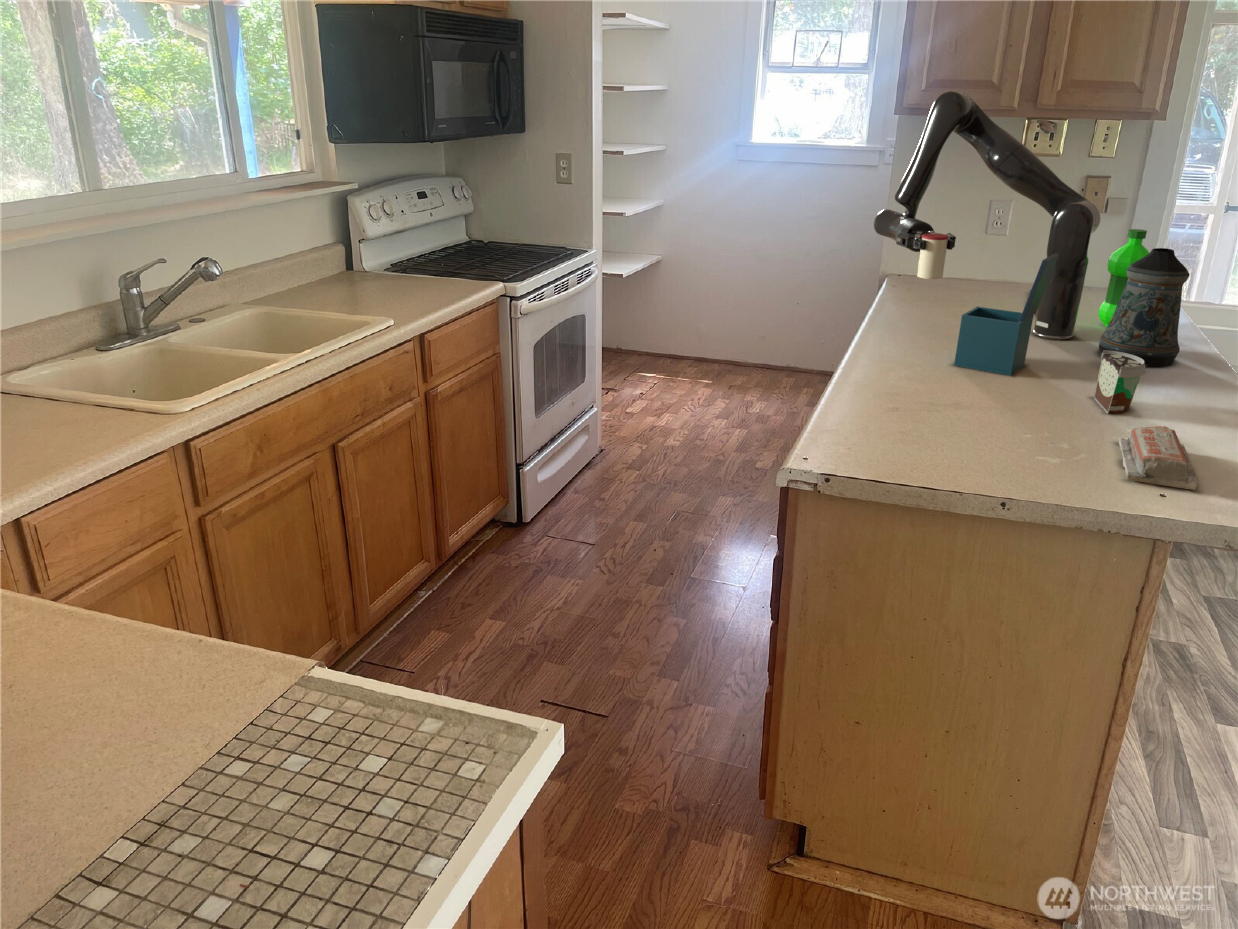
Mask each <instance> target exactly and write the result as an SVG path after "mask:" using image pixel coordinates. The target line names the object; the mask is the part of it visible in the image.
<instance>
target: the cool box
mask: <svg viewBox="0 0 1238 929" xmlns="http://www.w3.org/2000/svg"><path fill="white" fill-rule="evenodd" d="M1021 315H1022V312H1020V311H1012V310H1005V309H998V308H993V307H984V306H975V307H974V308H972V309H970V310H968V311H967V312H964V313H963V314H962V315H961V317H960V324H959V332H958V338H957V343H956V350H955V356H954V363H953V366H955V367H960V368H965V369H970V370H977V371H981V372H988V373H993V374H997V375H998V374H999V375H1005V376H1009V377H1011V376H1013V375H1014V374H1016V373H1017V371H1018V370H1020V369H1021V368H1022V367H1023V366H1025V362H1026V357H1027V354H1028V353H1027V352H1028V347H1029V341H1030V336H1031V331H1032V326H1033V321H1034V315H1035V314H1034V315H1032V316H1031V317H1030V318H1028V319H1027V320H1025V321H1024V322H1021V321H1019V320H1020V318H1021Z"/></svg>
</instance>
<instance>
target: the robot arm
mask: <svg viewBox="0 0 1238 929" xmlns="http://www.w3.org/2000/svg"><path fill="white" fill-rule="evenodd" d="M952 133H955V134H957V135H958V136H959V137H961V138H962V139H963V140H964V141H966V142H967V143H968V144H970V145H971V146H972V148H974V149H975V151H976V153H977V154H978V155H979V157H980V159H981V160H982V162H983V163H984V164H985V166H986V167H987V168H988V170H989V171H990V172H991V173H992V174H993V175H994V176H995V177H996V178H998V179H999V180H1000V182H1002V183H1003V184H1004V185H1006V186H1007V187H1008V188H1009V189H1011V190H1012V191H1014V192H1016V193H1017V194H1019V195H1021V196H1023V197H1025V198H1027V199H1029V201H1031V202H1033V203H1036V204H1037V205H1039V207H1041V208H1042V209H1043V210H1045V211H1046V212H1047V213H1048V214H1049V215H1050V216H1051V217H1052V220H1051V223H1050V227H1049V234H1048V241H1047V245H1046V258H1047V257H1049V256H1051V255H1053V254H1055V253H1057V254H1059V256H1058V259H1057V261H1056V264H1055V266H1054V269H1053V271H1052V274H1051V276H1050V279H1049V282H1048V284H1047V287H1046V289H1045V292H1044V294H1043V297H1042V299H1041V302H1040V304H1039V307H1038V310H1037V312H1036V313H1035V314H1034V315H1036V317H1035V321H1034V327H1033V329H1032V334H1033V335H1035V336H1036V337H1040V338H1043V339H1048V340H1061V341H1063V340H1070V339H1073V338H1074V333H1075V327H1076V323H1077V319H1078V313H1079V310H1080V309H1079V308H1080V304H1081V300H1082V296H1083V291H1084V290H1083V289H1084V286H1085V281H1086V275H1087V272H1088V266H1089V261H1090V259H1089V256H1088V251H1089V244H1090V239H1091V236H1092V234H1094V233H1095V232H1096V231H1097V230H1098V229H1099V227H1100V224H1101V219H1102V218H1101V212H1100V210H1099V208H1098V206H1097V205H1096V204H1095V203H1093V202H1092V201H1091V200H1090V199H1089V198H1086V197H1085V196H1083V195H1082V194H1081V193H1079V192H1077V191H1076V190H1075V189H1073V188H1072V187H1071V186H1069V185H1067V183H1065V182H1064V181H1063V180H1062V179H1061V178H1060V177H1058V175H1057V174H1056V173H1055V172H1054V171H1053V170H1052V169H1050V167H1049V166H1048V165H1047V164H1045V163H1044V161H1042V160H1041V159H1040V158H1039V156H1037V155H1036V154H1035V153H1034V152H1033V151H1032V150H1031V149H1030V148H1028V147H1027V146H1026V145H1025V144H1024V143H1023V142H1021V141H1020V140H1018V139H1017V138H1016V137H1015V136H1013V135H1012V134H1011V133H1009V132H1008V131H1007V130H1006V129H1004V128H1003V127H1001V126H999V124H997V123H996V122H994V120H992V118H990V116H989V115H988V114H987V113H986V112H985V111H984V110H983V109H982V108H981V107H980V105H979V104H978V103H977V102H976V101H975V100H974V99H973V97H972V96H971V95H969V94H968V93H965V92H964V91H963V92H962V91H956V90H949V91H944V92H942V93H941V94H939V95H938V97H936V98H935V100H934V101H933V103H932V105H931V108H930V111H929V114H928V117H927V120H926V123H925V126H924V129H923V132H922V135H921V138H920V140H919V143H918V145H917V148H916V150H915V152H914V155H913V156H912V158H911V161H910V164H909V166H908V168H907V170H906V172H905V173H904V176H902V179H901V181H900V183H899V186H898V187H897V189H896V191H895V193H894V196H893V197H894V201H895V202H896V203H898V204H899V205H901V206H902V207H904V212H903V213H902V212H898V211H895V210H893V209H890V208H885V209H883V210H881V211H879V212H878V213H877V214H876V216H875V217H874V220H873V229H874V231H875V233H876V234H878V235H879V236H883V237H886V238H888V239H891V240H894V241H895V243H896V245H897V246H901V247H903V248H905V249H908V250H910V251H911V252H915V253H920V249H921V250H925V247H926V241H925V240H923V239H922V235H923V234H929V233H935V234H942V233H940V232H936V231H935V230H934V227H933V226H932V225H931V224H930V223H928V222H926V221H923V220H921V219H919V218H917V214H918V210H919V207H920V204H921V201H922V200H923V197H924V196H925V194H926V192H927V190H928V188H929V186H930V185H931V182H932V179H933V177H934V174H935V171H936V167H937V163H938V160H939V157H940V154H941V152H942V150H943V148H944V146H945V144H946V142H947V140H948V139H949V137H950V136H951V134H952ZM945 235H948V236H949V238H948V242H947V249H946V250H949V251H950V250H951V251H952V250H953V249H954V248H955V247H956V239H957V236H956V235H954V234H952V233H951V232H947V233H945ZM1030 292H1031V289H1030V290H1029V292H1028V293H1029V294H1030Z"/></svg>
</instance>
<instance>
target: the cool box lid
mask: <svg viewBox="0 0 1238 929" xmlns="http://www.w3.org/2000/svg"><path fill="white" fill-rule="evenodd" d="M1058 256H1059V254H1057V253H1055V254H1053V255H1051V256H1049V257H1047V256H1046V257H1045V258H1043V259H1042V260H1041V263H1040V265H1039V268H1038V271H1037V273H1036V277H1035V279H1034V282H1033V284H1032V287H1031V289H1030V290H1031V292H1030V293H1029V295H1028V297H1027V300H1026V302H1025V305H1024V307H1023V310H1022V312H1021V313H1022V315H1021V318H1020V320H1019V321H1021V322H1024V321H1025V320H1027V319H1028V318H1030V317H1031V316H1032V315H1035V313H1036V312H1037V311H1038V307H1039V304H1040V302H1041V299H1042V297H1043V294H1044V292H1045V289H1046V287H1047V284H1048V282H1049V279H1050V276H1051V274H1052V271H1053V269H1054V266H1055V264H1056V261H1057V259H1058Z"/></svg>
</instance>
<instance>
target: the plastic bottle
mask: <svg viewBox="0 0 1238 929" xmlns="http://www.w3.org/2000/svg"><path fill="white" fill-rule="evenodd" d="M1147 233H1148V230H1146V229H1141V228H1138V229H1137V228H1131V229H1128V231H1127V235H1126V238H1128V242H1127V243H1126V244H1124V245H1123V246H1121V247H1119V248H1118V249H1116V250H1115V251H1113V252H1112V253H1111V254H1110V256H1109V258H1108V262H1107V271H1108V273H1109V274H1110V277H1109V281H1108V286H1107V289H1106V290H1107V291H1106V295H1105V299H1104V301H1103V302H1102V303H1101V305H1100V306H1099V309H1098V318H1099V321H1100V322H1101V323H1102V324H1103V325H1104V326H1105V327H1107V326H1108V324H1109V323H1110V321H1111V319H1112V316H1113V314H1114V312H1115V309H1116V307H1117V305H1118V302H1119V300H1120V298H1121V295H1122V293H1123V290H1124V288H1125V286H1126V283H1127V279H1128V277H1127V268H1128V267H1129V266H1130V265H1131V264H1133V263H1134V262H1136V261H1138V260H1139V259H1141V258H1143V257H1144V256H1146V255H1148V254H1149V253H1150V251H1149V249H1147V248H1146V247H1145V246H1144V244H1143V241H1144V240H1145V239H1146V237H1147Z"/></svg>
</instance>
